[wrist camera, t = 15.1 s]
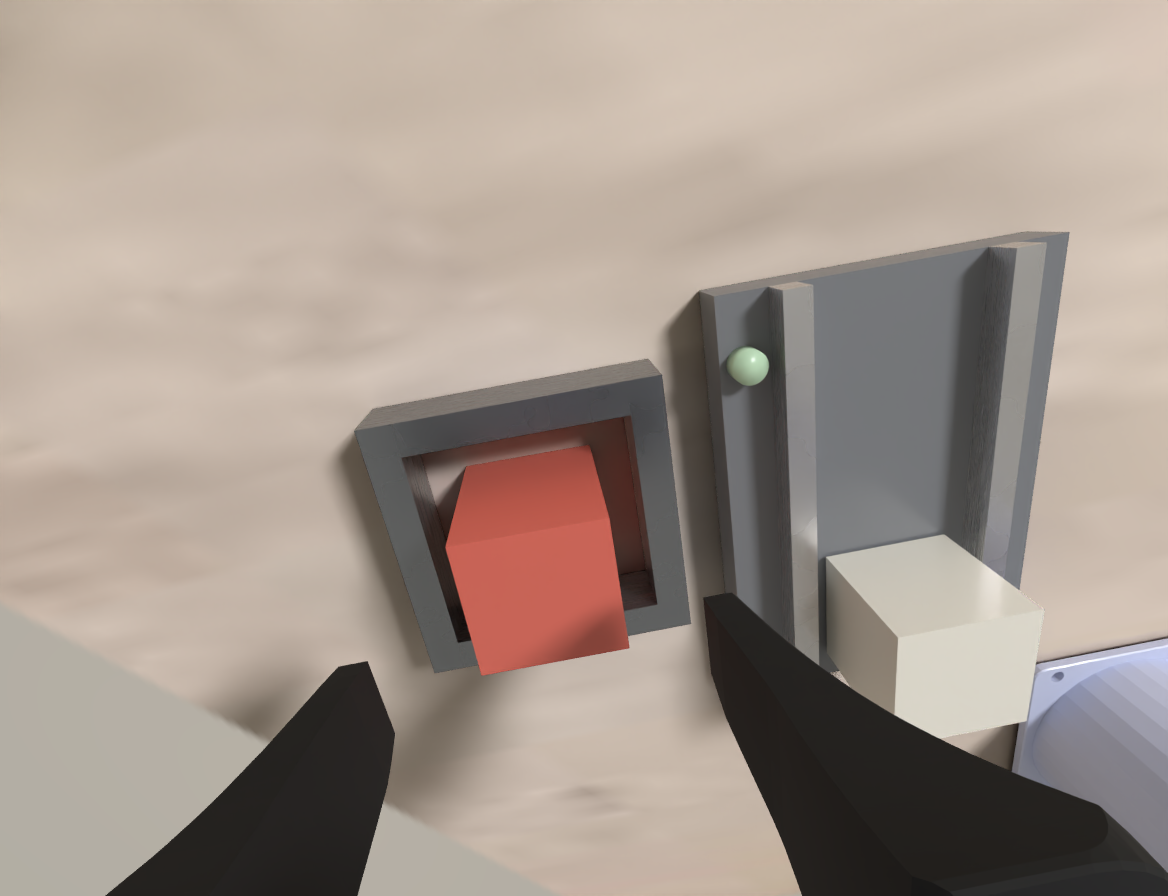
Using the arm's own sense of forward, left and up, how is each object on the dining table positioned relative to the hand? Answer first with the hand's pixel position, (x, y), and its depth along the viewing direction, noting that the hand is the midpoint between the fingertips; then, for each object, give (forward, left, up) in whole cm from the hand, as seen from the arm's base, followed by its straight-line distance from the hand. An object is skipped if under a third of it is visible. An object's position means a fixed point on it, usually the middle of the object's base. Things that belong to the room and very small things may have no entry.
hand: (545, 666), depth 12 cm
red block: (0, 0, -8) cm, 8 cm away
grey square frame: (0, 0, -7) cm, 7 cm away
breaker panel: (-11, +1, -8) cm, 13 cm away
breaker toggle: (-11, +5, -6) cm, 13 cm away
